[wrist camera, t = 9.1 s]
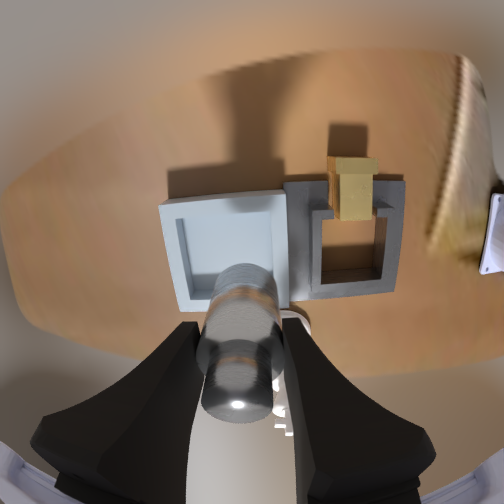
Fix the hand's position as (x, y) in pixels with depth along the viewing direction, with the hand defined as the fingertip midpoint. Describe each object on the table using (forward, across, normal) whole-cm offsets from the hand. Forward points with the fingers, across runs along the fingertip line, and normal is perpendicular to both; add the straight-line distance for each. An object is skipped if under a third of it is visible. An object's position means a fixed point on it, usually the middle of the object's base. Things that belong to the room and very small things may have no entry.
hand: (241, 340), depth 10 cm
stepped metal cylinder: (+4, 0, 0) cm, 4 cm away
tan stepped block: (+10, -7, -4) cm, 13 cm away
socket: (+10, -7, 0) cm, 12 cm away
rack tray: (+10, +2, 0) cm, 10 cm away
